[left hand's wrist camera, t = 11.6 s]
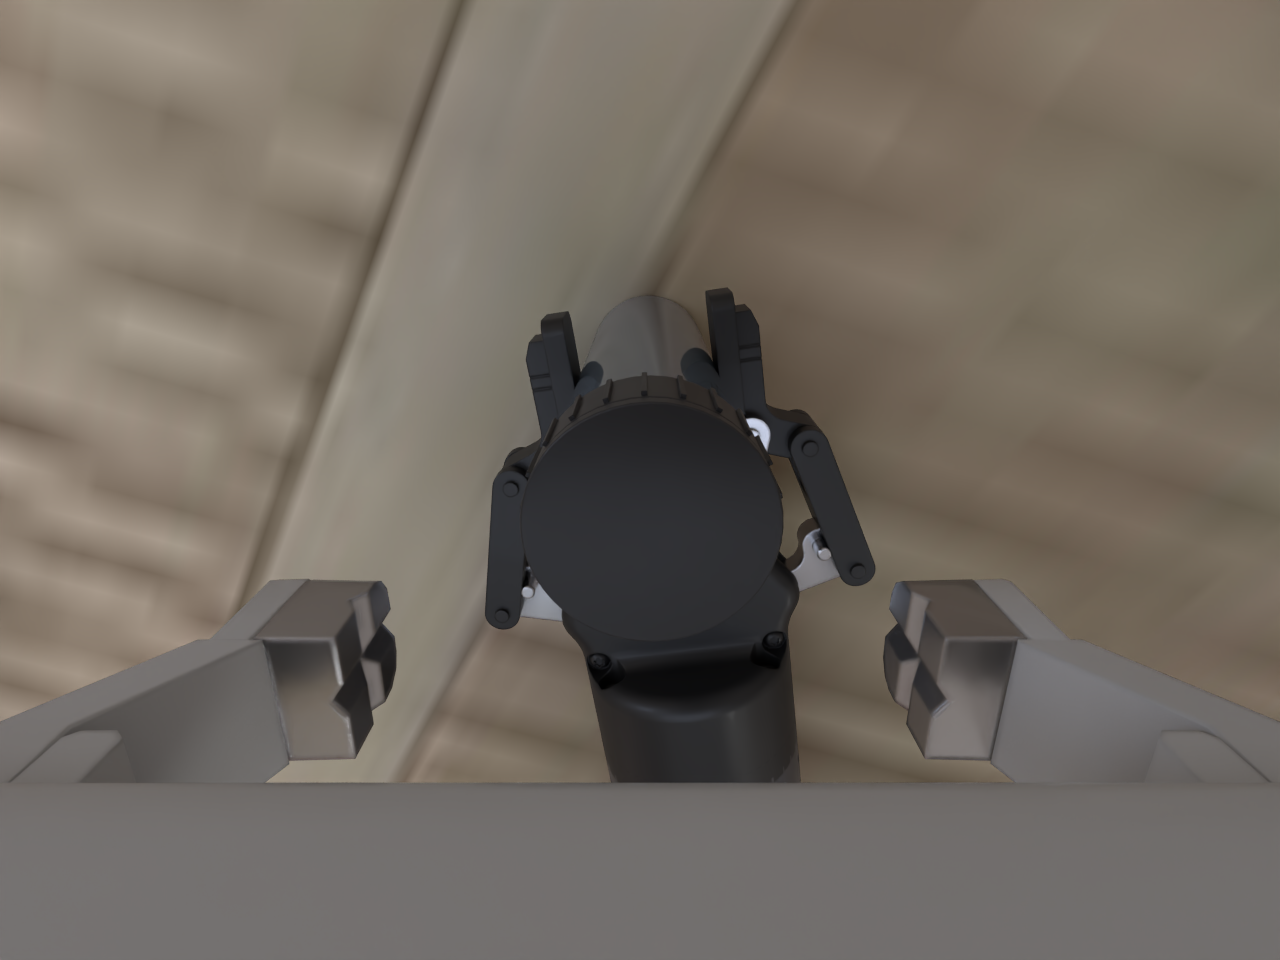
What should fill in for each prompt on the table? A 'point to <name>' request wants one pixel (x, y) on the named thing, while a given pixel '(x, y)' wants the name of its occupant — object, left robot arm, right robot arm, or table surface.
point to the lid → (651, 510)
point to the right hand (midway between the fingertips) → (635, 306)
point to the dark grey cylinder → (648, 347)
